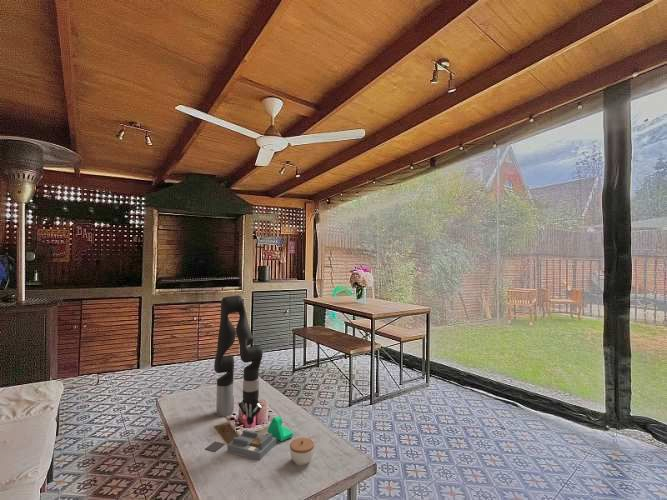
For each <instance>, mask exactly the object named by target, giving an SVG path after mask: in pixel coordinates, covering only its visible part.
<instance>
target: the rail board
mask: <svg viewBox="0 0 667 500" xmlns="http://www.w3.org/2000/svg"><path fill="white" fill-rule="evenodd" d="M256 437H258V438H262V439H263V440H262V441H261V442H260V448H256V447H252V446H250V442H251V441H253V440H254V439H255V438H256ZM276 445H277V440H276V438H275V437H272V434H271V433H269V434H267V435H266V434H261V433H259V432H256V431H252V430H248V429H243V430H242V433H241V434H240V435H238V436H237V437H236V436H233V437H232V441H231V442H230V443H228V444H227V446H226V447H227V452H228V453H232V454H237V455H239V456H244V457H247V458H251V459H254V460H262V459H263V458H264V457H265V456H266V455H267V454H268V453H269V452H270V451H271V450H272V449H273V448H274V447H275V446H276Z"/></svg>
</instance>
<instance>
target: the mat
mask: <svg viewBox="0 0 667 500" xmlns="http://www.w3.org/2000/svg"><path fill="white" fill-rule="evenodd" d="M224 446H226V443H223V442H220V441H213V442H212V443H210V445H208V446H207V447H206V448H204V450H205V451H209V452H213V453H216V452H217V451H218V450H220V449H221V448H222V447H224Z"/></svg>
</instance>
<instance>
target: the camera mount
mask: <svg viewBox="0 0 667 500" xmlns="http://www.w3.org/2000/svg"><path fill="white" fill-rule="evenodd" d="M282 424H283V418H282V417H281V415H277V416H275V417H272V418H271V421H270V424H269V425H268V428H267V433H269V434H270V433H271V434H272V437H275V438H276V441H278V440H279V441H280V442H283V441H285V440H288V439H291V438H292V437H293V436H294V432H293V431H292V430H290V429H289V428H287V427H286V426H284V425H282Z"/></svg>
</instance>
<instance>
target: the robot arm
mask: <svg viewBox="0 0 667 500" xmlns="http://www.w3.org/2000/svg"><path fill="white" fill-rule="evenodd" d="M237 313H238V315H239V317H238V318H239V319H238V321H237V324H236V328H235V326H234V325H233V323H232V322H231V321H230V319H229V315H231V314H237ZM247 316H248V315H247V311H246V306H245V303H244V300H243V298H242V296H241V295H231V296H224V297H222V299H221V301H220V317H219V318H220V320H219V327H218V334H217V335H218V337H217V346H216V347H217V348H216V354H215V358H214V364H213V367H214V372H215V373H217V374H222V373H223V374H224V373H225V374H224V375H222V376H220V377H218V378H217V380H216V403H215V404H216V405H215V406H216V407H215V411H216V413H215V414H216V416H217V417H219V418H221V417H224V418H225V417H228V416H230V415H232V414H233V413H234V410H235V409H234V408H235V407H234V406H235V403H234V402H235V398H234V397H235V394H234V370H235V359H234V356H233V355H232V354H231V355H225V354H226V353H227V352H228V350H230V348H232V346H233V345H234V343H235V341H236V337H237V339H238V343H239V352H240V353H239V355H240V356H239V357H240V360H241V361H242V362H243V363H250V364H248V365H246V366H245V367H244V369H243V382H242V401H240V402H239V403H238V407H239V409H240V410H241V411H240V412H242V414H243V415H245V416H246V424H247V425H249V426H252V425H253V424H254V422H255V421H254V418H255V417H256V416H257V415H258V414H259V413H260V412H261V410H262V409H263V408H264V406H263V405H260V400H259V394H260V391H259V389H260V380H259V369H260V367H261V363H262V359H263V355H264V353H263V348H262V347H261V346H260V345H253V346H250V345H252V344H253V343H254V341H255V340H254V336H253V332H252V330H251V328H250V326H249V322H248V321H249V320H248V317H247Z"/></svg>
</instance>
